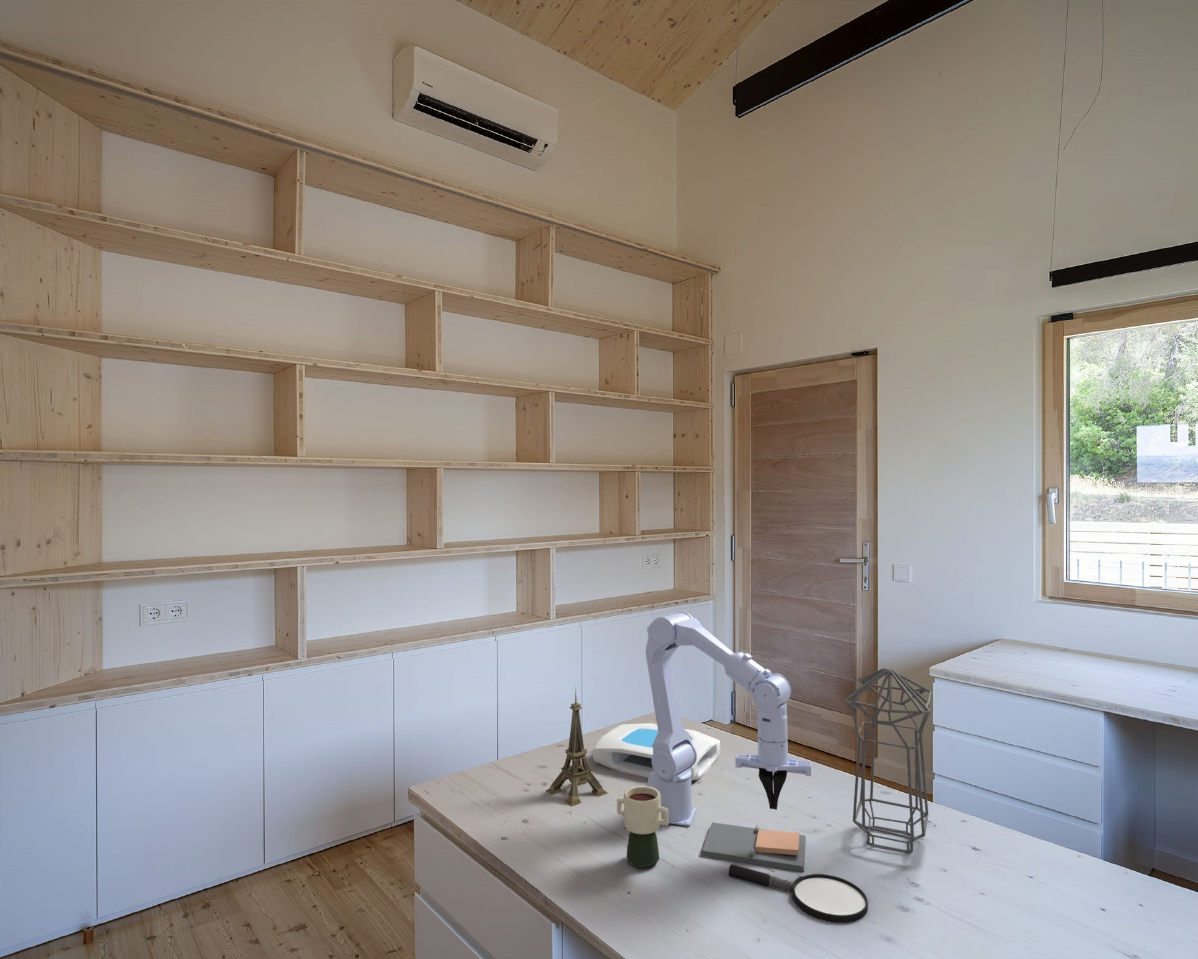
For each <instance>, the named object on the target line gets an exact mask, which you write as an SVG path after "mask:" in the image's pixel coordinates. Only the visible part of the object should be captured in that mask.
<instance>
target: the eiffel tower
mask: <svg viewBox="0 0 1198 959" xmlns="http://www.w3.org/2000/svg"><path fill="white" fill-rule="evenodd" d="M575 691H577V687H576V686H575ZM574 693H575V694H574V695H575V696H574V703H571V704H570V706H569V709H570V710H572V714H571V720H570V721H571V723H570V724H571V725H570V731H569V732H570V733H569V740H568V741H569V742H568V748H566V749H565V752H564V753H565V754H566V757H565V762H564V765H563V766H562V767H560V768H561V772H560V773H558V776H557V777H556V778H555V779H554V780H553V781H552V783H551V784H550V786H549V787H548V788H547V789H545V792H546V793H548V792H549V794H550V795H555V794H558V793H561V792H562V791H563V789H562V787H563V785H564V784H565V782H566V781H567V780H569V782H570V783H571V786H570V789H569V792H568V794H567V798H566V799H565V800H564V803H565V804H567V805H569V806H570V807H574V806H576V805H580V804H582V801H581V799H580V796H579V788H578V786H582V785H585V784H589V786H590V787H591V789H592V790H591V794H593V795H595V796H597V797H601V796H604V795H607V794H608V793H609V792H608V791H606V790H604V788H603V786H602V785H601V783H600V782H599V780H597V778H596V776H595V775H594V774H593V773H592V770H593V769H592V768H591V767H590V766H589V762H588V760H587V759H588V758H587V754H588V750H587V749H586V748H585V745H584V738H583V731H582V723H581V715H580V710H582V709H583V707H582V706H581V705H582V704H581V703H578V700H577V692H574Z"/></svg>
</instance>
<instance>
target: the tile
mask: <svg viewBox="0 0 1198 959" xmlns="http://www.w3.org/2000/svg"><path fill="white" fill-rule="evenodd" d="M800 835H801V833H800V832H798V831H797V832H796V831H784V830H783V831H782V830H768V829H763V830H759V831H758V836H757V841H756V846H755V848H756V852H763V853H776V854H789V855H799V844H800Z"/></svg>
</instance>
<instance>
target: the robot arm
mask: <svg viewBox="0 0 1198 959" xmlns="http://www.w3.org/2000/svg"><path fill="white" fill-rule="evenodd" d="M646 630H647V641H646V646H645V657H646V658H645V659H646V664H647V670H648V676H649V683H650V689H651V696H652V701H653V708H654V712H655V714H654V715H655V720H656V724H657V727H658V733H657V736H656V738H655V740H654V742H653V745H652V746H653V756H652V758H651V767H652V768H653V770H654V772H651V773H650V775H649V777H648V779H647V786H648V787H652V788H655V789H657V790H658V791H659V793H660V796H661V807H665V808H667V809H668V811H669V824H673V825H679V826H685V827H686V826H687V827H690V826H691V824H692V822H693V819H694V817H695V814H696V812H697V808H696V807H693V806H692V805H693V804H692V800H693V799H692V781H691V772H692V766H693V765H694V764H695V763H696V760H697V752H696V749H695V747H694V745H693V744H692V741H691V738H690V734H689V733H688V732H687V731H686V730H685V729H686V728H684V727H683V721H682V716H681V715H682V714H681V710H680V704H679V697H678V691H677V686H676V680H675V673H674V667H673V662H672V656H673V654H674V653H675V652H676V650H678V648H679V647H680V646H693V647H695V648H696V649H698V650H700V651H702V652H703V653H704V654H705V655H707V656H709V658H711V659H713V660H714V661H715V662H717V663H719V664H720V665H722V666H723V668H724V674H725V675H726V676H727V677H728V678H730V679H731V680H732V681H733V682H735V683H736V684H737V685H739V686H740V687H741V688H742V689H743V690H745V691H746V692H748V693H749V694H751V697H752V700H753V702H754V704H755V706H756V708H757V754H736V755H735V760H734V761H735V763H734V764H735V768H739V769H741V768H748V769H749V768H750V769H756V770H757V769H758V778H759V780H760V782H761V784H762V787H763V788H764V792H765V793H766V798H767V799H768V800H767V801H768V805H769V809H770V810H778V804H779V803H778V802H779V798H780V795H781V791H782V789H783V787H784V785H785V782H786V780H787V775H788V773H791V774H798V775H799V774H800V775H805V776H806V777H812V762H807V761H801V760H797V759H794V758H790V757H789V754H788V752H789V750H788V748H789V747H788V745H789V744H788V705H787V704H788V703H787V701H788V700H789V699H790V698H791V695H792V687H791V684H790V682H789V680H788V679H786V677H785V676H784V675H783V674H782V673H776V672H775V673H772V671H771V670H770V669H768V668H764V667H763V666H762V665H760V664H758V662H756V661H755V660H754V659H753V656H752V655H751V654H749V653H748V652H747V653H744V652H742V651H741V652H740V651H739V652H733V651H732V650H731V649H730V648H728V647H727V645H725V644H723V643H722V641H720V640H719V639H718V638H717V637H715V636H714V635H713V634H712V633H710V632H709V631H708V630H707V629H706V628H705V627H703V626H702V624H701V622H700V621H699V620H698V619H697V618H695V617H693V616H692V615H691V614H690V613H688V612H687V611H678V612H676V613H673V614H669V615H666V616H658V617H656V618H655V619H654V620H653V621H652V622H651V623H650V624H649V625H648V626H647V628H646ZM661 819H663V820H664V813H663V812H661Z"/></svg>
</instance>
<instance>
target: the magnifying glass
mask: <svg viewBox="0 0 1198 959" xmlns="http://www.w3.org/2000/svg"><path fill="white" fill-rule="evenodd" d="M728 876H729V877H730V878H733V879H737V880H741V881H745V882H748V883H752V884H755V885H758V886H759V885H760V886H762V887H767V888H768V887H770V889H771V888H773V889H777V890H782V891H784V892H787V893H791V898H792V901H793V902H794V904H795V905H796V907H797V908H798V909H799V910H801V911H802V912H803V913H805V914H807V915H808V916H810V917H812V918H815V919H817V920H820V921H823V922H829V923H834V924H849V923H855V922H857V921H860V920H861V919H863V918H864V917H866V915H867V914H868V910H869V901H868V897H867V894H866V893H865V892H864V891H863V890H862V889H861V888H860V887H859V886H857V885H855V884H854V883H853V882H851V881H848V880H847V879H844V878H841V877H839V876H835V875H830V874H822V873H811V874H806V875H801V876H798V877H797V878H796V879H795V880H793V881H792V880H788V879H782V878H780V877H777V876H773V875H771V874H769V873H765V872H763V871H759V870H755V869H751V868H747V867H745V866H740V865H736V864H734V863H731V864H730V865H729V867H728Z"/></svg>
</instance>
